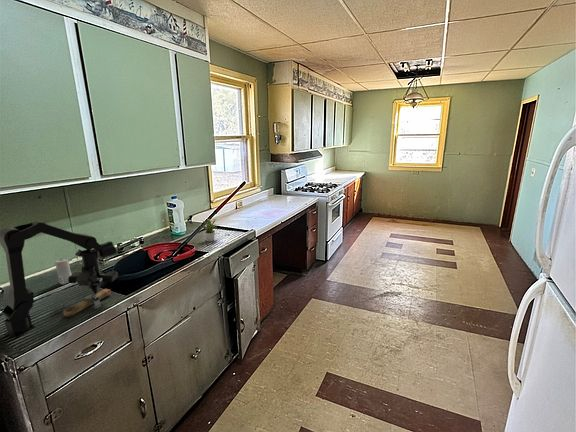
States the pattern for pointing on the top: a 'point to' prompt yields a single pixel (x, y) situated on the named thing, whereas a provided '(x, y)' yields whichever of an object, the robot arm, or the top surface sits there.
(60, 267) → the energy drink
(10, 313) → the robot arm
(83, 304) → the brown long rod
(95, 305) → the keeper
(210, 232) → the house plant
